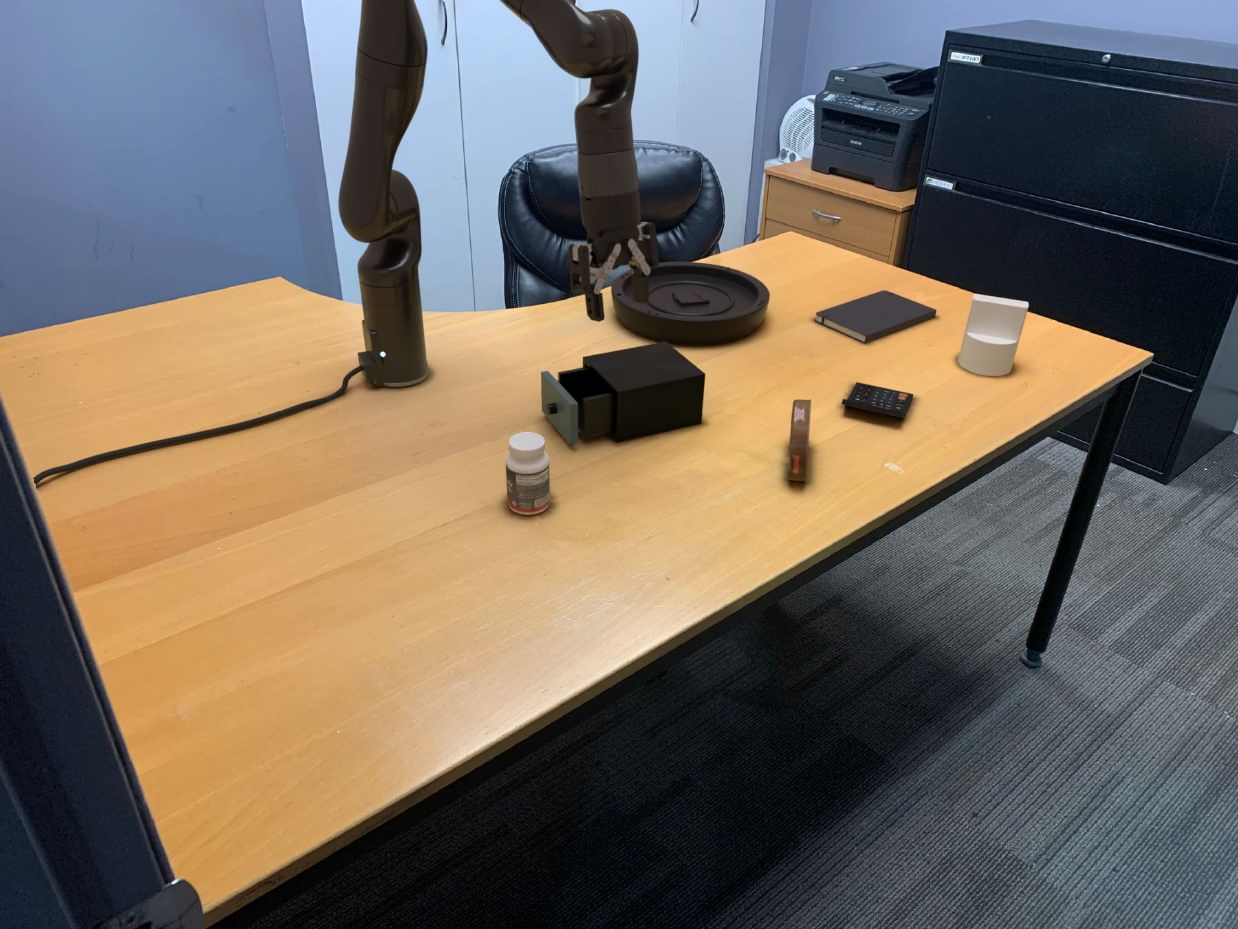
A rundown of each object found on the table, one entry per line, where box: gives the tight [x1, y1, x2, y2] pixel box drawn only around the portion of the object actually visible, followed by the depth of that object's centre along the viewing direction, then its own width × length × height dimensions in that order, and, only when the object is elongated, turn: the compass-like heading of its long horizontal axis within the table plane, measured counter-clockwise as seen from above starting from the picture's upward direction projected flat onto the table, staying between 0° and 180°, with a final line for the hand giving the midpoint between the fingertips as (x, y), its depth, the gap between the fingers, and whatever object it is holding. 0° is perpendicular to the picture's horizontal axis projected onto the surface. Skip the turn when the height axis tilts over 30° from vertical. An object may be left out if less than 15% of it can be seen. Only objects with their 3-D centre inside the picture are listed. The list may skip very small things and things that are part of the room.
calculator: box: [841, 381, 914, 419], centre depth 149 cm, size 9×12×3 cm
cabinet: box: [582, 341, 706, 444], centre depth 144 cm, size 15×13×9 cm
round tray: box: [610, 261, 771, 346], centre depth 178 cm, size 30×6×30 cm
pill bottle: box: [505, 431, 551, 516], centre depth 122 cm, size 6×6×10 cm
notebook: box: [814, 289, 938, 344], centre depth 180 cm, size 13×2×21 cm
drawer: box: [540, 366, 616, 446], centre depth 141 cm, size 15×11×7 cm
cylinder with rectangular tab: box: [957, 293, 1030, 377], centre depth 161 cm, size 9×9×12 cm
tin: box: [787, 398, 812, 483], centre depth 132 cm, size 15×3×8 cm, turn 168°
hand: (619, 310), depth 124 cm, fingers open, 8 cm apart
